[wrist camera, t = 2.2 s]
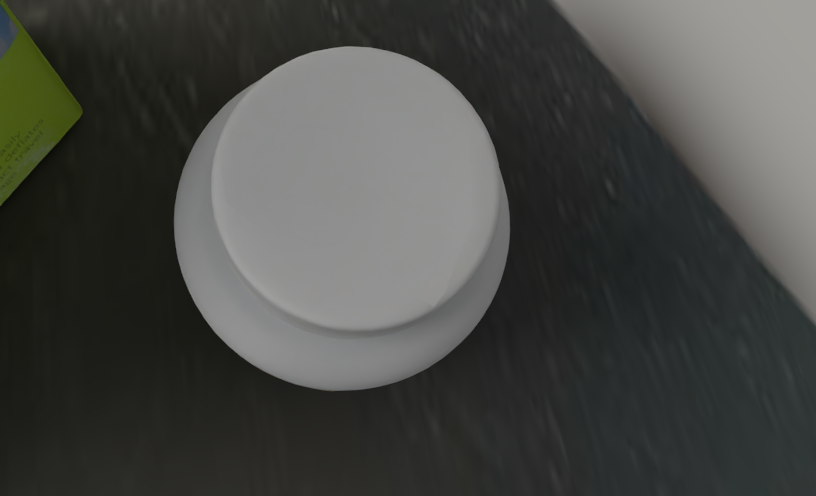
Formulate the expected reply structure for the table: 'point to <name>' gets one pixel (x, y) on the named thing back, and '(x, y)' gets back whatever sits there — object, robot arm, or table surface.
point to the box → (28, 104)
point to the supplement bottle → (343, 220)
